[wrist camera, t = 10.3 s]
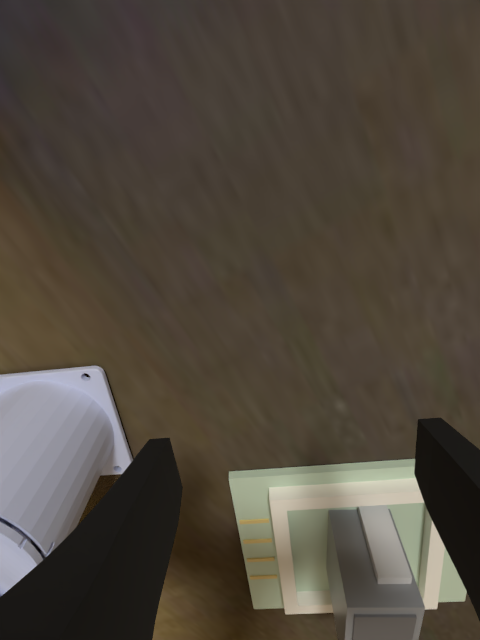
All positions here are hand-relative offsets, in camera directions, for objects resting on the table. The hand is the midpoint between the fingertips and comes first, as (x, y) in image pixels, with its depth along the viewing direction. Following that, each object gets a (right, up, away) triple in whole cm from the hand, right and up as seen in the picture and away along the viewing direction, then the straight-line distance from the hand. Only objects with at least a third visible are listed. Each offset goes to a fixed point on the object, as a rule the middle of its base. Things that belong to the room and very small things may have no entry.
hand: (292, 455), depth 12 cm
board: (+7, -11, +17) cm, 21 cm away
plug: (+7, -11, +16) cm, 20 cm away
